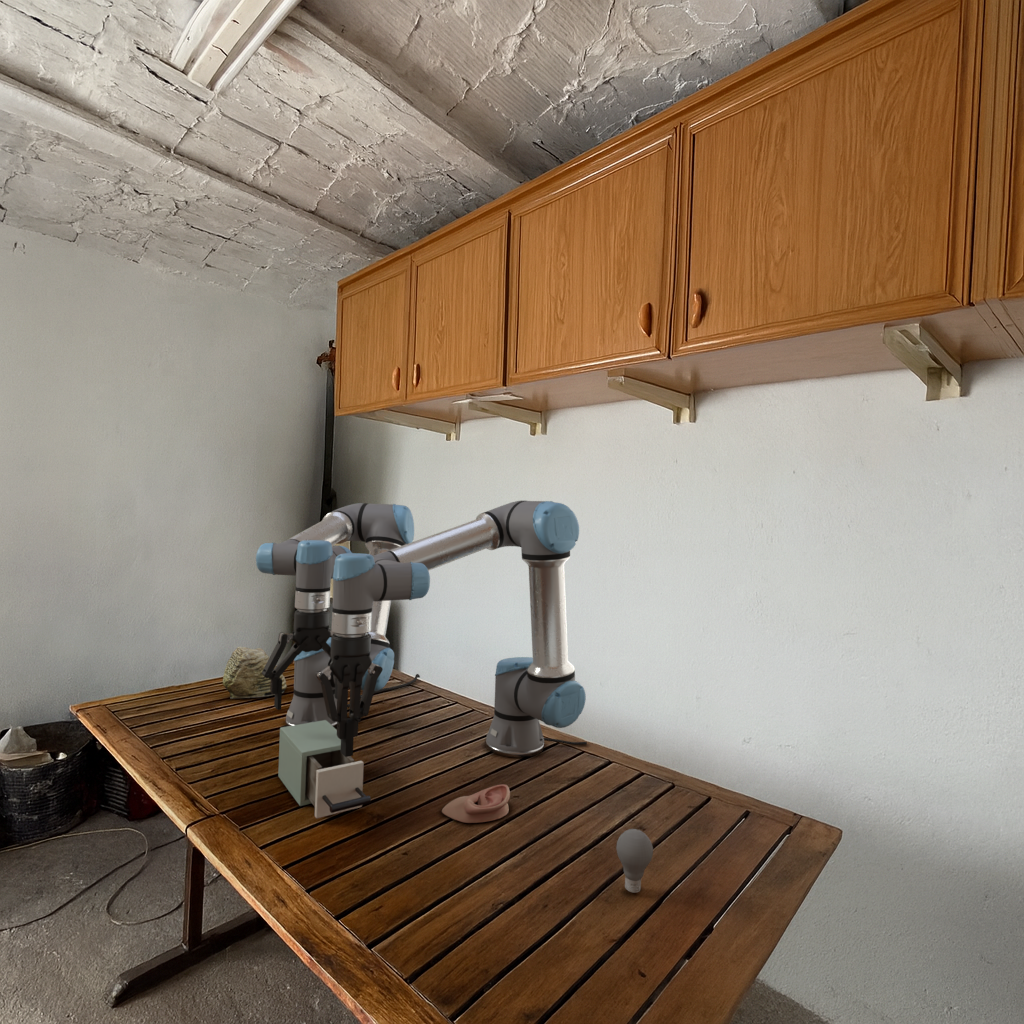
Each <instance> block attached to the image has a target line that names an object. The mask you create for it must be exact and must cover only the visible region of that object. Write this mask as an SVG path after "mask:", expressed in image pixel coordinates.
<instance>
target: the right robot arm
mask: <svg viewBox="0 0 1024 1024" xmlns="http://www.w3.org/2000/svg"><path fill="white" fill-rule="evenodd" d="M579 537H580V525H579V520H578V517H577V515H576V514H575V512H574V511H573V510H572V509H571V508H570V507H569V506H568V505H566V504H564V503H562V502H555V501H553V500H516V501H512V502H509V503H505V504H503V505H500V506H497V507H495V508H492V509H490V510H489V509H488V510H486V511H484V512H481V513H478V514H477V516H476V517H475V519H474V520H470V521H468V522H464V523H462V524H460V525H456V526H453V527H451V528H448V529H445V530H443V531H440V532H437V533H434V534H431V535H428V536H425V537H423V538H420V539H417V540H413V542H411V543H409V544H406V545H403V546H400V547H397V548H395V549H392V550H389V551H386V552H383V553H380V554H377V555H374V556H373V555H370V554H369V553H361V552H360V553H359V552H358V553H355V552H352V553H345V554H340V555H338V556H337V557H336V559H335V565H334V573H333V579H332V608H331V609H332V612H331V626H330V627H331V629H330V630H331V631H332V632H333V633H334V634H333V635H331V636H330V637H331V657H330V660H329V662H328V666H327V667H326V668H325V669H324V670H322V671H317V672H316V677H317V678H318V680H319V681H320V683H321V687H322V692H323V697H324V701H325V706H326V711H327V716H328V717H329V718H330V719H331V720H332V721H333V722H335V721H336V722H337V727H336V730H337V737H338V738H339V739H341V751H340V752H341V753H342V754H343V755H344V756H345V757H348V756H351V757H352V756H354V738H355V737H356V738H357V737H358V734H359V723H360V722H361V721H362V718H363V717H367V716H368V715H369V712H370V709H371V706H372V701H373V697H374V695H375V693H374V690H375V686H376V682H377V679H378V677H379V675H380V674H381V672H382V670H383V669H382V667H380V666H379V665H377V664H374V663H372V659H371V657H370V649H371V635H370V634H369V632H370V631H371V622H372V604H373V601H390V600H391V601H406V600H407V601H412V600H416V599H417V600H418V599H423V598H424V597H426V595H427V594H428V592H429V591H430V587H431V575H430V574H431V573H430V572H429V571H431V570H435V569H437V568H440V567H442V566H445V565H448V564H450V563H452V562H455V561H457V560H458V561H459V560H461V559H462V558H463V559H464V558H465V557H468V556H470V555H474V554H476V553H478V552H481V551H483V550H489V551H495V550H498V549H500V548H505V547H517V548H520V549H521V560H522V561H523V562H524V563H525V564H526V565H527V566H528V584H529V585H528V586H529V606H530V607H529V608H530V628H531V630H530V631H531V652H532V653H531V654H532V657H531V656H515V657H507V658H503V659H501V660H499V661H498V662H497V664H496V668H495V674H494V677H495V678H494V679H495V680H494V681H495V682H494V706H493V707H494V709H493V712H494V713H493V718H492V720H491V724H490V726H489V729H488V732H487V734H486V737H485V747H486V748H487V750H488V751H489V752H491V753H493V754H495V755H498V756H502V757H505V758H506V757H507V758H516V759H518V758H519V759H521V758H530V757H534V756H537V755H539V754H541V753H542V752H543V751H544V750H545V741H546V742H552V743H553V742H554V743H559V744H563V745H564V744H565V745H572V746H583V745H584V746H585V745H586V746H587V745H588V742H587V741H567V740H563V739H557V738H550V737H544V735H543V731H542V727H541V723H540V721H541V722H543V723H544V724H545V725H547V726H551V727H554V728H557V729H564V728H568V727H570V726H571V725H572V724H574V723H575V722H576V721H577V720H578V719H579V717H580V716H581V714H582V713H583V711H584V708H585V704H586V690H585V688H584V686H582V684H581V683H580V682H579V681H577V680H576V668H575V665H574V664H573V663H571V661H570V660H569V651H568V650H569V647H568V626H567V623H568V622H567V601H566V600H567V599H566V597H567V596H566V576H565V575H566V573H565V564H566V562H568V561H569V560H570V558H571V550H572V549H574V548H575V546H576V545H577V543H576V542H578V540H579ZM367 670H368V675H367V677H366V681H365V685H364V689H363V690H361V686H362V677H363V676H364V674H365V673H366V671H367ZM331 672H332V673H333V675H334V676H335V677H336V679H337V685H338V690H337V710H336V706H335V701H334V696H333V691H332V686H331V683H330V681H329V680H330V679H331ZM349 682H350V689H348V688H349ZM361 695H362V697H361V698H360V696H361ZM348 701H349V702H348ZM348 704H350V707H347V705H348ZM348 708H349V710H348ZM348 716H349V717H348Z"/></svg>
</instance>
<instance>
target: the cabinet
mask: <svg viewBox="0 0 1024 1024" xmlns="http://www.w3.org/2000/svg"><path fill="white" fill-rule="evenodd" d="M278 743H279V744H278V745H279V749H278V750H279V751H278V775H277V776H278V778H279V780H280V781H281V782H282V784H283V785H284V786H285V788H286V789H287V790H288V792H289V793H290V795H291V796H292V797H293V799H294V800H295V801H296V803H297V804H298V805H299V807H302V806H306V805H310V804H312V803H311V801H310V800H309V799H308V798H307V796H306V795H305V787H306V761H307V756H311V755H316V754H321V753H326V752H331V751H336V750H341V739H339V738H338V737H337V728H336V727H335V728H334V727H333V726H332V725H331V724H330V723H329V722H327V721H326V720H323V721H317V722H311V723H305V724H299V725H293V726H281V727H280V728H279V742H278Z"/></svg>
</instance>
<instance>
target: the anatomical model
mask: <svg viewBox="0 0 1024 1024" xmlns="http://www.w3.org/2000/svg"><path fill="white" fill-rule="evenodd" d="M510 798H511V791H510V788H509V786H508V785H507V784H497V785H493V786H490V787H487V788H484V789H481V790H480V791H477V792H475V793H473V794H470V795H463V796H460V797H457V798H454V799H453V800H451V801H449V802H448V803H447V804H445V806H443V808H442V810H441V813H442V814H443V815H444V816H446V817H448V818H450V819H452V820H455V821H458V822H460V823H464V824H477V823H485V822H492V821H495V820H499V819H502V818H503V817H505V816H507V815H508V814H509V810H510V807H509V801H510Z"/></svg>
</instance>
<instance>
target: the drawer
mask: <svg viewBox="0 0 1024 1024" xmlns="http://www.w3.org/2000/svg"><path fill="white" fill-rule="evenodd" d="M340 751H341V750H336V751H331V752H326V753H321V754H316V755H311V756H307V761H306V787H305V795H306V796H307V798H308V799H309V800H310V801H311V804H312V806H313V807H314V817H315V819H320V818H324V817H329V816H331V815H336V814H339V813H344V812H347V811H351V810H355V809H358V808H362V807H363V806H365V805H368V804H370V803H371V801H372V799H371V796H370V795H366V794H365V792H363V789H364V787H363V786H364V766H365V765H364V764H365V763H364V761H363V760H358V761H355V759H354V758H353V757H352V756H348V757H345V756H344V755H343V754H342V753H341V752H340Z"/></svg>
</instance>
